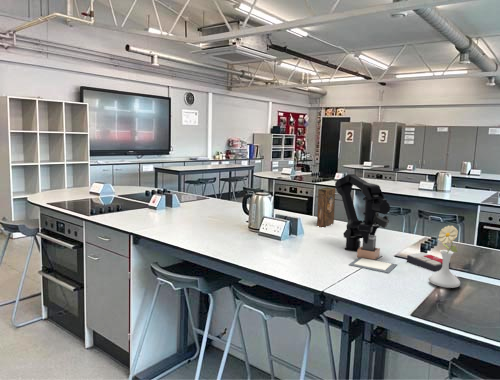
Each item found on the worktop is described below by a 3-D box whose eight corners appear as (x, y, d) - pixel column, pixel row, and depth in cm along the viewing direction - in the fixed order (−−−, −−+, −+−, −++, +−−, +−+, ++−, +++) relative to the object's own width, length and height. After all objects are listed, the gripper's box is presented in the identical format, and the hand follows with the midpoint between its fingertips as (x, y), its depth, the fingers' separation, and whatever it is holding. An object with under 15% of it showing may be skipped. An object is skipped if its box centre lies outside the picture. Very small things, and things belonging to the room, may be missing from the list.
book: (323, 227, 251) (325, 190, 248) (316, 226, 254) (317, 189, 251) (333, 223, 264) (335, 188, 261) (326, 222, 267) (327, 187, 264)
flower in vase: (424, 279, 158) (428, 220, 155) (452, 280, 157) (457, 221, 154) (436, 291, 145) (441, 227, 142) (467, 293, 144) (473, 228, 141)
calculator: (435, 264, 167) (407, 253, 180) (433, 273, 168) (406, 262, 181) (451, 261, 172) (422, 251, 186) (449, 270, 173) (421, 259, 186)
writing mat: (348, 265, 175) (348, 263, 175) (358, 257, 186) (359, 256, 186) (388, 273, 165) (388, 271, 165) (397, 265, 176) (397, 263, 176)
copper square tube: (357, 257, 188) (357, 249, 187) (362, 253, 194) (363, 245, 194) (374, 260, 183) (374, 252, 182) (379, 256, 190) (379, 248, 189)
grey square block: (361, 255, 188) (363, 236, 187) (364, 253, 192) (366, 234, 191) (372, 257, 185) (373, 237, 184) (375, 255, 189) (376, 235, 188)
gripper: (382, 215, 173) (380, 248, 175) (393, 209, 189) (391, 240, 191) (358, 212, 180) (356, 244, 182) (370, 207, 195) (368, 236, 197)
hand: (369, 241), depth 188 cm, fingers open, 9 cm apart
